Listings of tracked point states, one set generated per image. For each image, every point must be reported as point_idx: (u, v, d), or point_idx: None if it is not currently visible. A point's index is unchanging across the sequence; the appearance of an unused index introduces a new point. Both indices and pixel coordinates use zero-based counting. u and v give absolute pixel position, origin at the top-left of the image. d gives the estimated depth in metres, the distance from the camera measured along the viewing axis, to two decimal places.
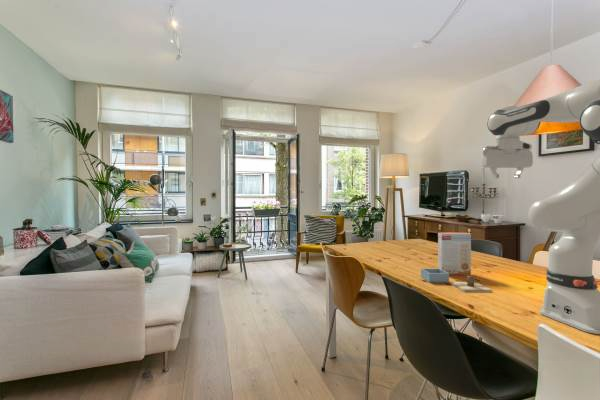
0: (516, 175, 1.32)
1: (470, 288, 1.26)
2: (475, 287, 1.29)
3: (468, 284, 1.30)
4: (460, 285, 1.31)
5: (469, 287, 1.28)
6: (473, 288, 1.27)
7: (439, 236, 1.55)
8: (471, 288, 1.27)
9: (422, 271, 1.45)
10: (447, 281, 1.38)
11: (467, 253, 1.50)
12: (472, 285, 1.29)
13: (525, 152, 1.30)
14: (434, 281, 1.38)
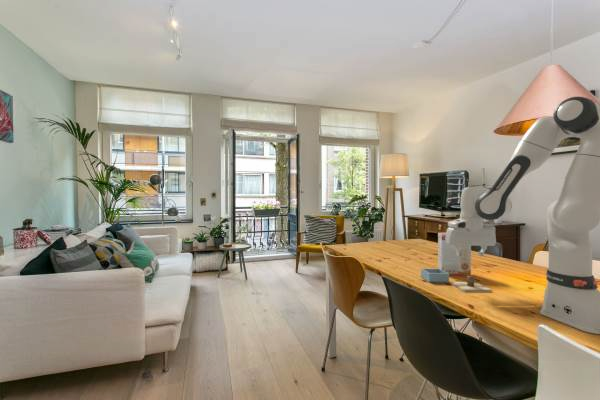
0: None
1: (470, 288, 1.26)
2: (475, 287, 1.29)
3: (468, 284, 1.30)
4: (460, 285, 1.31)
5: (469, 287, 1.28)
6: (473, 288, 1.27)
7: (439, 236, 1.55)
8: (471, 288, 1.27)
9: (422, 271, 1.45)
10: (447, 281, 1.38)
11: (467, 253, 1.50)
12: (472, 285, 1.29)
13: None
14: (434, 281, 1.38)
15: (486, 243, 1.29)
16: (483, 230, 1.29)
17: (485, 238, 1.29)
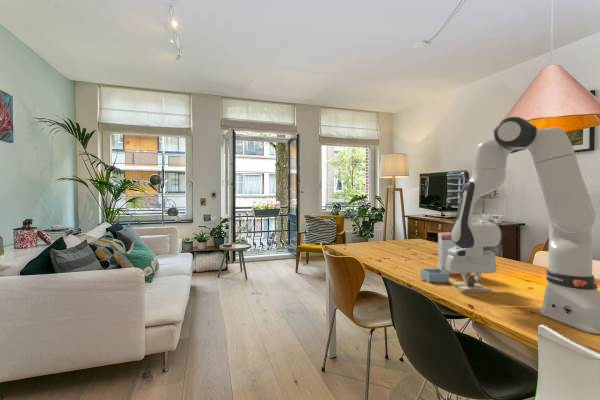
0: None
1: (470, 288, 1.26)
2: (475, 287, 1.29)
3: (468, 284, 1.30)
4: (460, 285, 1.31)
5: (469, 287, 1.28)
6: (473, 288, 1.27)
7: (439, 236, 1.55)
8: (471, 288, 1.27)
9: (422, 271, 1.45)
10: (447, 281, 1.38)
11: None
12: (472, 285, 1.29)
13: None
14: (434, 281, 1.38)
15: (487, 271, 1.29)
16: (483, 258, 1.29)
17: (485, 266, 1.29)
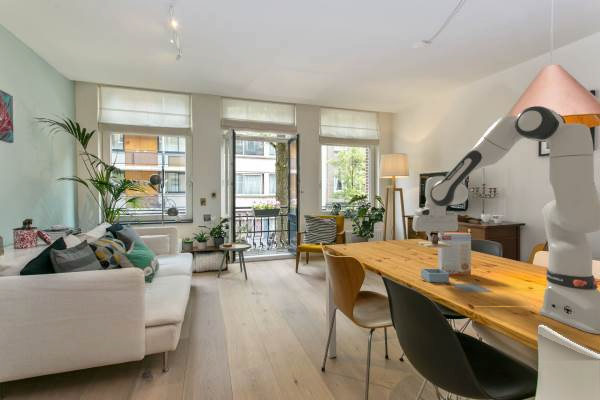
0: None
1: (433, 245, 1.38)
2: (438, 244, 1.40)
3: (432, 242, 1.42)
4: (425, 243, 1.43)
5: (433, 244, 1.40)
6: (436, 245, 1.39)
7: None
8: (434, 245, 1.39)
9: (422, 271, 1.45)
10: (447, 281, 1.38)
11: (467, 253, 1.50)
12: (436, 243, 1.41)
13: None
14: (434, 281, 1.38)
15: (449, 229, 1.40)
16: (446, 217, 1.40)
17: (448, 224, 1.40)
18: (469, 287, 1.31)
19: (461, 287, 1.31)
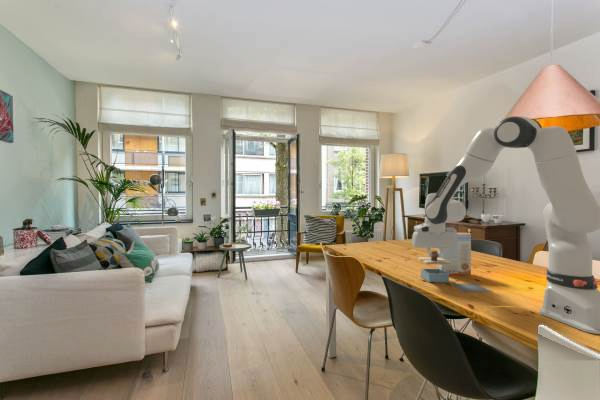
0: None
1: (432, 262, 1.38)
2: (437, 260, 1.41)
3: (432, 258, 1.42)
4: (424, 259, 1.43)
5: (432, 261, 1.40)
6: (435, 261, 1.39)
7: None
8: (433, 261, 1.39)
9: (422, 271, 1.45)
10: (447, 281, 1.38)
11: (467, 253, 1.50)
12: (435, 259, 1.41)
13: None
14: (434, 281, 1.38)
15: (449, 246, 1.40)
16: (445, 234, 1.40)
17: (447, 241, 1.40)
18: (469, 287, 1.31)
19: (461, 287, 1.31)
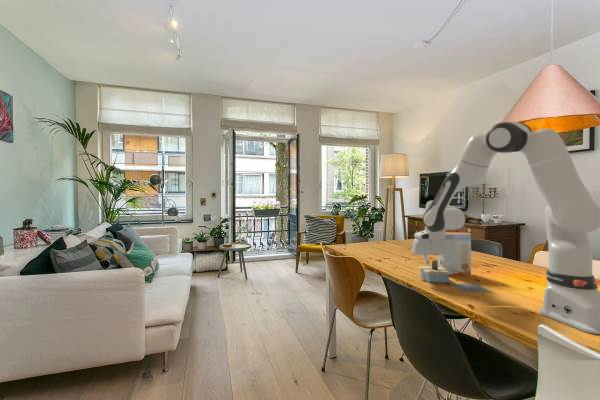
0: None
1: (433, 271, 1.38)
2: (438, 270, 1.41)
3: (432, 268, 1.42)
4: (425, 269, 1.43)
5: (433, 270, 1.40)
6: (436, 271, 1.39)
7: None
8: (434, 271, 1.39)
9: (422, 271, 1.45)
10: (447, 281, 1.38)
11: (467, 253, 1.50)
12: (436, 268, 1.41)
13: None
14: (434, 281, 1.38)
15: (449, 253, 1.40)
16: (446, 241, 1.40)
17: (448, 248, 1.40)
18: (469, 287, 1.31)
19: (461, 287, 1.31)
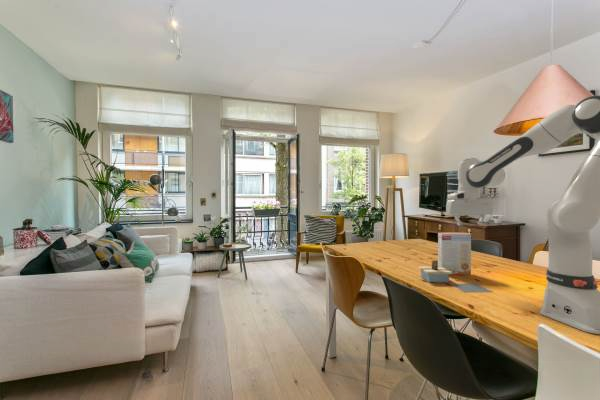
0: None
1: (433, 271, 1.38)
2: (438, 270, 1.41)
3: (432, 268, 1.42)
4: (425, 269, 1.43)
5: (433, 270, 1.40)
6: (436, 271, 1.39)
7: (439, 236, 1.55)
8: (434, 271, 1.39)
9: (422, 271, 1.45)
10: (447, 281, 1.38)
11: (467, 253, 1.50)
12: (436, 268, 1.41)
13: None
14: (434, 281, 1.38)
15: (484, 212, 1.38)
16: (480, 200, 1.38)
17: (483, 208, 1.38)
18: (469, 287, 1.31)
19: (461, 287, 1.31)
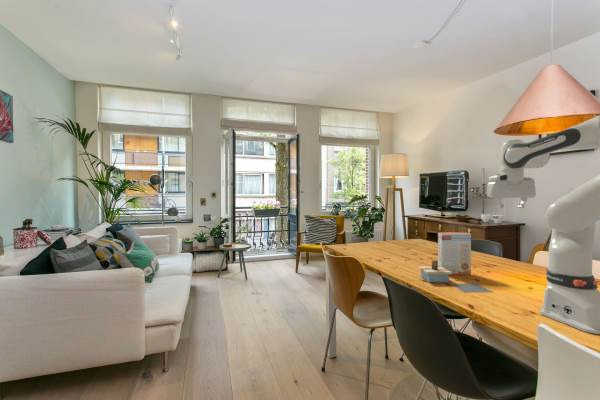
0: None
1: (433, 271, 1.38)
2: (438, 270, 1.41)
3: (432, 268, 1.42)
4: (425, 269, 1.43)
5: (433, 270, 1.40)
6: (436, 271, 1.39)
7: (439, 236, 1.55)
8: (434, 271, 1.39)
9: (422, 271, 1.45)
10: (447, 281, 1.38)
11: (467, 253, 1.50)
12: (436, 268, 1.41)
13: None
14: (434, 281, 1.38)
15: (527, 195, 1.36)
16: (523, 183, 1.35)
17: (526, 190, 1.36)
18: (469, 287, 1.31)
19: (461, 287, 1.31)
